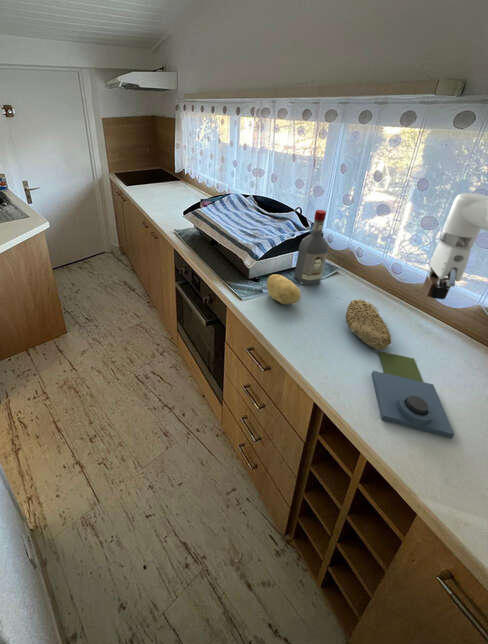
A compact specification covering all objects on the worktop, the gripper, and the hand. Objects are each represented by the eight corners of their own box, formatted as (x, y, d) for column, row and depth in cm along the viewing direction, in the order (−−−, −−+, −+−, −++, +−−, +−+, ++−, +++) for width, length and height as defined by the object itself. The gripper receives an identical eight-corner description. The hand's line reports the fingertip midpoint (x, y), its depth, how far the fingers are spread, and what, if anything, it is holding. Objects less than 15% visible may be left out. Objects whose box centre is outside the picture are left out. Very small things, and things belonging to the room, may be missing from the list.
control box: (430, 388, 80) (435, 379, 79) (451, 439, 68) (458, 429, 67) (371, 374, 84) (374, 365, 83) (381, 419, 73) (385, 410, 71)
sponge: (342, 311, 111) (339, 336, 94) (352, 293, 108) (351, 315, 91) (381, 329, 106) (385, 358, 89) (393, 310, 103) (399, 337, 86)
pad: (413, 359, 89) (413, 358, 89) (423, 384, 81) (423, 382, 81) (378, 352, 92) (379, 351, 91) (384, 375, 84) (385, 374, 84)
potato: (273, 312, 109) (276, 289, 104) (263, 289, 122) (266, 268, 117) (301, 311, 109) (305, 289, 104) (289, 288, 122) (292, 268, 117)
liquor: (291, 275, 131) (303, 208, 117) (310, 272, 132) (324, 206, 118) (302, 286, 123) (316, 216, 109) (323, 284, 124) (339, 214, 110)
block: (439, 290, 94) (444, 278, 92) (444, 299, 90) (450, 286, 88) (421, 288, 96) (427, 275, 94) (426, 296, 92) (432, 283, 90)
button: (422, 402, 73) (425, 398, 72) (428, 417, 70) (431, 412, 69) (403, 398, 74) (406, 393, 73) (408, 412, 71) (410, 407, 70)
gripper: (488, 253, 76) (459, 312, 85) (460, 229, 91) (438, 281, 99) (452, 249, 79) (428, 306, 87) (430, 226, 93) (411, 277, 101)
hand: (433, 292), depth 93 cm, fingers closed on block, 4 cm apart
